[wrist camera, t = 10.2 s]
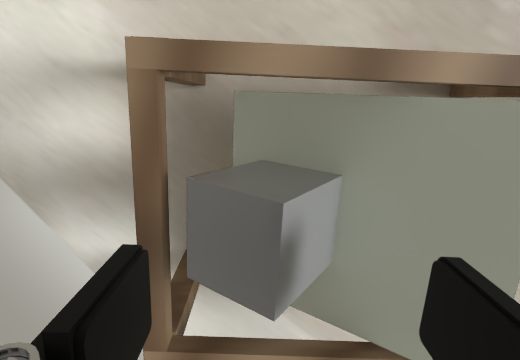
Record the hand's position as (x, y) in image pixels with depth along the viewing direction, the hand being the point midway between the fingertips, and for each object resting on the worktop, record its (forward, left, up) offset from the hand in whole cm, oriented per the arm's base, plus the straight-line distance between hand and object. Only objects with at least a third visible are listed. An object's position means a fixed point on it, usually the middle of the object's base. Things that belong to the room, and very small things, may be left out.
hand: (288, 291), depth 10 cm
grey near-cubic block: (-1, 0, -8) cm, 8 cm away
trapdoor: (-6, 0, -11) cm, 13 cm away
